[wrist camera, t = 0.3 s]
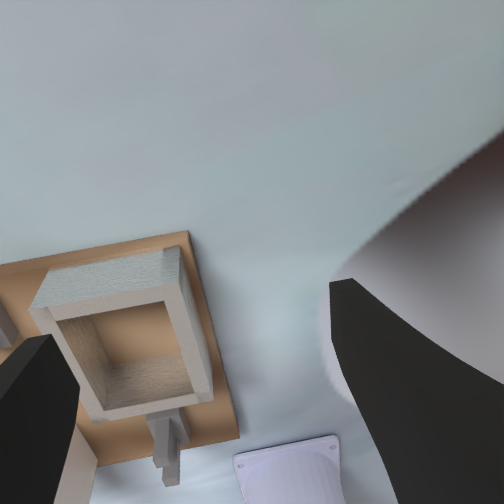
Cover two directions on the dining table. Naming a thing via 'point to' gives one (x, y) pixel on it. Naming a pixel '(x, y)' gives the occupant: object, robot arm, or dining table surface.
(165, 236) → the board
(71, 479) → the connector
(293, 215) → the dining table surface
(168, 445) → the clip
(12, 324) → the clip
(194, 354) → the end holder
